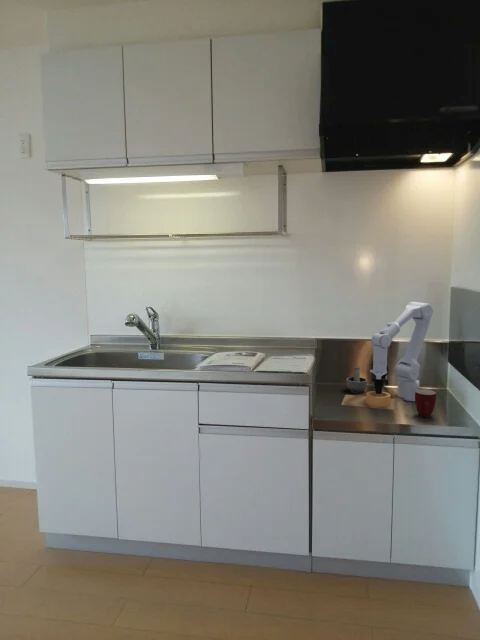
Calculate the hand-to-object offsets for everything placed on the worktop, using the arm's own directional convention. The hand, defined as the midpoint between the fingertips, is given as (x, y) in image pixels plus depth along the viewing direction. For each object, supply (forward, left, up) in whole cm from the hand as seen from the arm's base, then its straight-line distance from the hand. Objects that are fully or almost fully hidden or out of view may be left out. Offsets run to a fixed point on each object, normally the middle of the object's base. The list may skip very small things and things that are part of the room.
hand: (379, 391), depth 221 cm
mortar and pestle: (+11, -13, -6) cm, 18 cm away
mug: (-19, +13, -6) cm, 24 cm away
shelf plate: (+4, +3, -5) cm, 7 cm away
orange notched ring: (0, +4, -4) cm, 6 cm away
